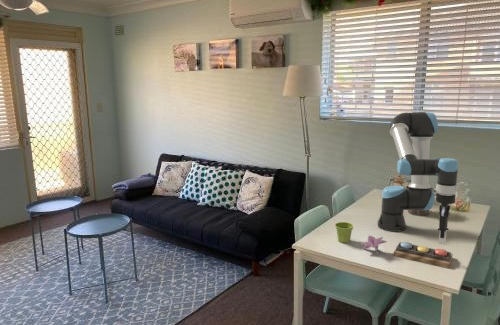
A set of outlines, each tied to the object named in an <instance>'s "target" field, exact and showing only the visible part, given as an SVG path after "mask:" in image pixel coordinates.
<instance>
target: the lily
mask: <svg viewBox="0 0 500 325" xmlns="http://www.w3.org/2000/svg"><path fill="white" fill-rule="evenodd" d="M383 238H384V236H380V237H377V238H376V237H375V236H373V235H368V236H367V241H364V242H361V243H360V244H361V245H364V246H363V250H365V249H368V248H371V247H372V248H373V249H374V252H375V255H376V256H375V257H377V256H378V254H377V250H378V249H379V245H381V244H385V243H388V241H387V240H384V239H383Z"/></svg>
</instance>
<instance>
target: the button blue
mask: <svg viewBox="0 0 500 325" xmlns="http://www.w3.org/2000/svg"><path fill="white" fill-rule="evenodd" d="M400 242H401V241H400ZM412 245H413V244H412V243H411V242H408V241H402V242H401V248H404V249H411V248H412Z"/></svg>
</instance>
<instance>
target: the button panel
mask: <svg viewBox="0 0 500 325" xmlns="http://www.w3.org/2000/svg"><path fill="white" fill-rule="evenodd" d="M418 246H419V245H415V244H412V248H411V249H404V248H401V241H400V242H399V243H398V244H397V245H396V248H395V249H394V251H393V257H397V258H401V259H406V260H409V261H414V262H415V261H416V262H419V263H424V264H429V265H432V266H437V267H442V268H447V269H450V266H451V263H452V260H453V254H454V253H452V252H451V251H447V256H445V257H443V256H438V255H436V254H435V249H436V248H432V247H428V248H429V253H423V252H419V251H417V247H418Z"/></svg>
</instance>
